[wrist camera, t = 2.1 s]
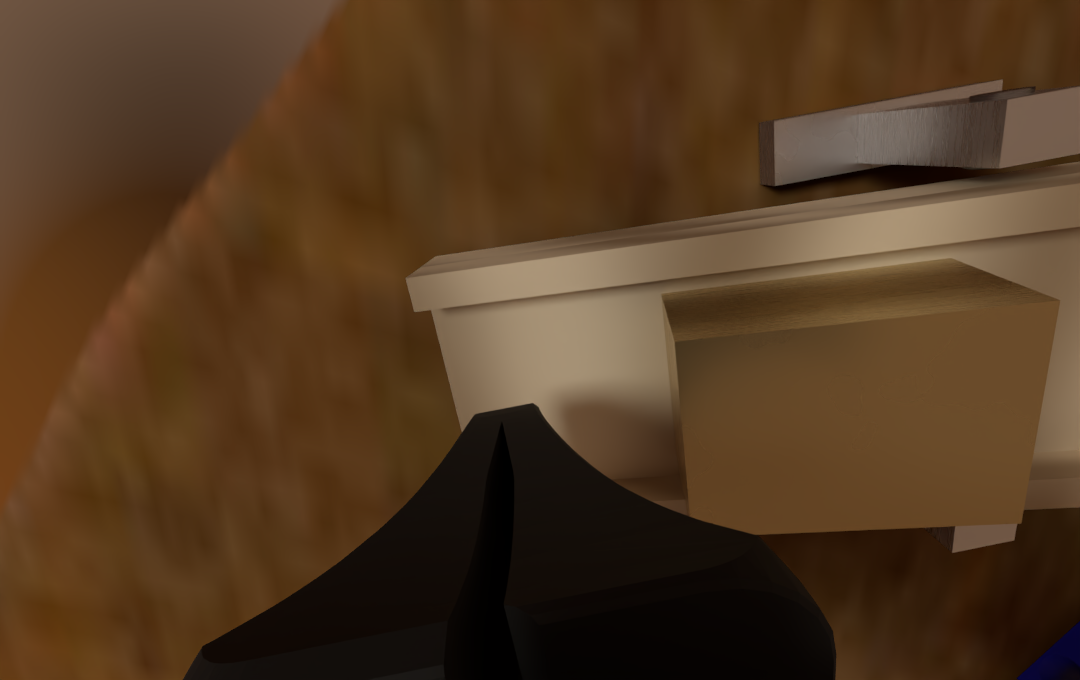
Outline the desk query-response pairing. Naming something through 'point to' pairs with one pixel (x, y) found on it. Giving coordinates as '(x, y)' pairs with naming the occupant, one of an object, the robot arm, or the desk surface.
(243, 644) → the robot arm
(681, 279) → the balance beam
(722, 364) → the block
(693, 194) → the desk surface
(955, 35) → the desk surface
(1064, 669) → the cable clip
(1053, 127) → the pivot stand
